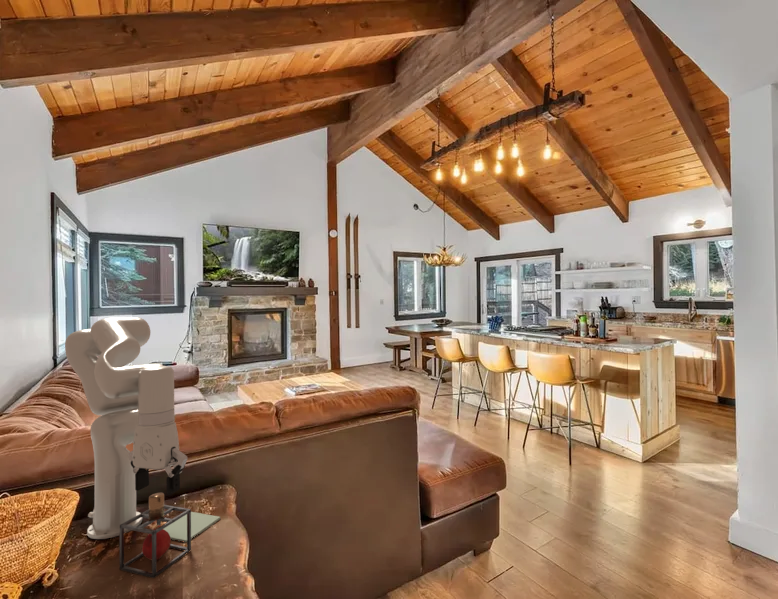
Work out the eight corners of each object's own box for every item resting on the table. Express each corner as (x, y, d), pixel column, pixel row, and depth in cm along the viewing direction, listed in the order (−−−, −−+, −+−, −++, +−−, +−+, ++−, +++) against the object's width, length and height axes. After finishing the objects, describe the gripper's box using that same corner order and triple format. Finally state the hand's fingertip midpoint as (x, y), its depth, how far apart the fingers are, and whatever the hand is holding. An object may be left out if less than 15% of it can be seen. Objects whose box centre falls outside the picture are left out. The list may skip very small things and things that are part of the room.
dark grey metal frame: (119, 569, 90) (119, 503, 90) (158, 543, 100) (158, 484, 100) (153, 578, 86) (153, 509, 87) (190, 550, 96) (190, 488, 97)
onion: (157, 569, 90) (157, 533, 90) (136, 566, 91) (136, 531, 91) (175, 553, 95) (175, 520, 96) (155, 551, 96) (155, 518, 97)
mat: (151, 535, 103) (151, 533, 103) (187, 513, 115) (187, 511, 115) (186, 542, 100) (186, 540, 100) (220, 518, 111) (220, 516, 111)
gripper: (115, 420, 93) (115, 493, 92) (171, 423, 88) (172, 501, 87) (143, 412, 100) (144, 480, 99) (197, 415, 95) (198, 487, 94)
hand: (157, 490), depth 93 cm, fingers open, 9 cm apart
